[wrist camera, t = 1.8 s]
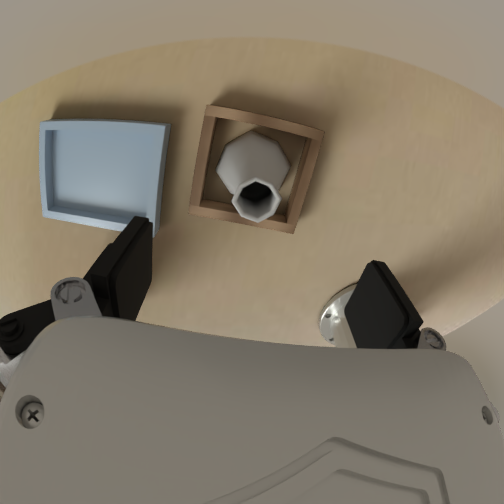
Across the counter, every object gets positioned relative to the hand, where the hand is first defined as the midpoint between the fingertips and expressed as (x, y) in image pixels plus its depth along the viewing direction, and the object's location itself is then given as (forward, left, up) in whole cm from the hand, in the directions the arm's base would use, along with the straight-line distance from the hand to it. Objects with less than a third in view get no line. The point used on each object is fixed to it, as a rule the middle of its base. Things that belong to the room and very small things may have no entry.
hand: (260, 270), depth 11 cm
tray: (+17, +3, -18) cm, 25 cm away
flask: (0, 0, -18) cm, 18 cm away
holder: (0, 0, -18) cm, 18 cm away
